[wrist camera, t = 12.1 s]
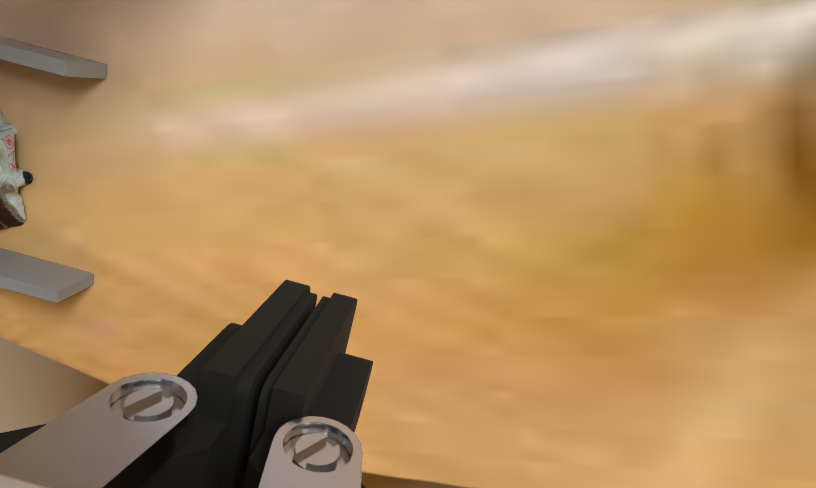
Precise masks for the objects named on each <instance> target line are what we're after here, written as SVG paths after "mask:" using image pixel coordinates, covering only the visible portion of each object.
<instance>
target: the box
mask: <svg viewBox="0 0 816 488" xmlns="http://www.w3.org/2000/svg"><path fill="white" fill-rule="evenodd" d="M0 59H1V60H5V61H9V62H13V63H16V64H20V65H24V66H28V67H32V68H35V69H39V70H43V71H47V72H51V73H54V74H58V75H62V76H66V77H85V78H106V71H107V65H106V64H102V63H99V62H95V61H91V60H87V59H83V58H79V57H76V56H72V55H68V54H64V53H60V52H57V51H53V50H49V49H45V48H41V47H37V46H34V45H30V44H26V43H22V42H18V41H15V40H11V39H7V38H3V37H0ZM93 279H94V274H92V273H89V272H85V271H81V270H78V269H74V268H70V267H67V266H63V265H59V264H56V263H52V262H48V261H45V260H41V259H37V258H34V257H30V256H27V255H23V254H19V253H16V252H12V251H8V250H5V249H1V248H0V288H4V289H7V290H11V291H15V292H18V293H22V294H26V295H29V296H33V297H36V298H40V299H44V300H47V301H51V302H55V303H58V302H60V301H62V300H64V299H66V298H68V297H70V296H72V295H74V294H76V293H78V292H80V291H82V290H84V289H86V288H88V287H90V286H91V285H93Z"/></svg>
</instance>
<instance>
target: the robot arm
mask: <svg viewBox="0 0 816 488" xmlns="http://www.w3.org/2000/svg"><path fill="white" fill-rule="evenodd" d="M316 301H317V294H313V293H310V286H308V285H304V284H300V283H297V282H293V281H289V280H285V281H284V282H283V283H282V284H281V285H280V286H279V287H278V288H277V289H276V291H275V292H274V293H273V294H272V295H271V296H270V297H269V298H268V299H267V300H266V301H265V302H264V303H263V304H262V305H261V306H260V307H259V308H258V309H257V311H256V312H255V313H254V314H253V315H252V316H251V317H250V318H249V319H248V320H247V321H246V322H245V323H244V324H243V325H239V324H235V323H231V324H229V325H228V326H227V327H226V328H224V329H223V330H222V331H221V332H220V333H219V334H218V335H217V336H216V337H215V338H214V339H213V340H212V341H211V342H210V343H209V344H208V345H207V346H206V347H205V348H204V349H203V350H202V351H201V352H200V353H199V354H198V355H197V356H196V357H195V358H194V359H193V360H192V361H191V362H190V363H189V364H188V365H187V366H186V367H185V368H184V369H183V370H182V371H181V372H180V373H179V374H178V375H177V376H174V375H170V374H164V373H142V374H136V375H132V376H128V377H124V378H122V379H120V380H118V381H116V382H114V383H112V384H110V385H109V386H107V387H105V388H104V389H102V390H101V391H99V392H98V393H96V394H94V395H93V396H91V397H89V398H88V399H86V400H85V401H83V402H82V403H80V404H78V405H77V406H75V407H73V408H72V409H70V410H69V411H67V412H66V413H64V414H62V415H61V416H59V417H58V418H56V419H54V420H53V421H51V422H50V423H48V424H44V425H38V426H34V427H29V428H24V429H19V430H14V431H9V432H5V433H0V488H365V487H364V486H363V484H362V483H361V473H362V455H363V452H362V446H361V442H360V441H359V439H358V437H357V436H356V434H355V433H354V432H355V428H356V425H357V422H358V418H359V415H360V411H361V408H362V404H363V400H364V397H365V393H366V389H367V385H368V381H369V377H370V373H371V369H372V365H373V361H370V360H366V359H363V358H359V357H355V356H352V355H348V354H345V352H346V348H347V343H348V339H349V335H350V331H351V326H352V322H353V318H354V314H355V310H356V305H357V299H356V298H352V297H348V296H345V295H341V294H337V293H333V295H332V296H331V298H328V297H324V296H323V297H322V299H321V300H320V302H319V303H318V304H317V306H316ZM315 306H316V307H315Z"/></svg>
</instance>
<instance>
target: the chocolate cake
mask: <svg viewBox="0 0 816 488" xmlns="http://www.w3.org/2000/svg"><path fill="white" fill-rule="evenodd" d="M16 134H17V130H16V128H15V127H14V126H13V125H12V124H6V123H5V122H4V119H3V115H2V113H1V111H0V229H6V228H8V227H13V226H21V225H22V224H24V222H25V220H26V215H25V212H24V210H25V209H24V206H23V203H22V202H23V199H22V197H21V196H20V195H19V193H18V189H19V188H18V187H19V186H24V185H26V184H30V183H31V182H32V180H33V177H32V174H31V173H29V172H25V171H24V170H22V169H19V168H16V161H15V141H14V135H16Z"/></svg>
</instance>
